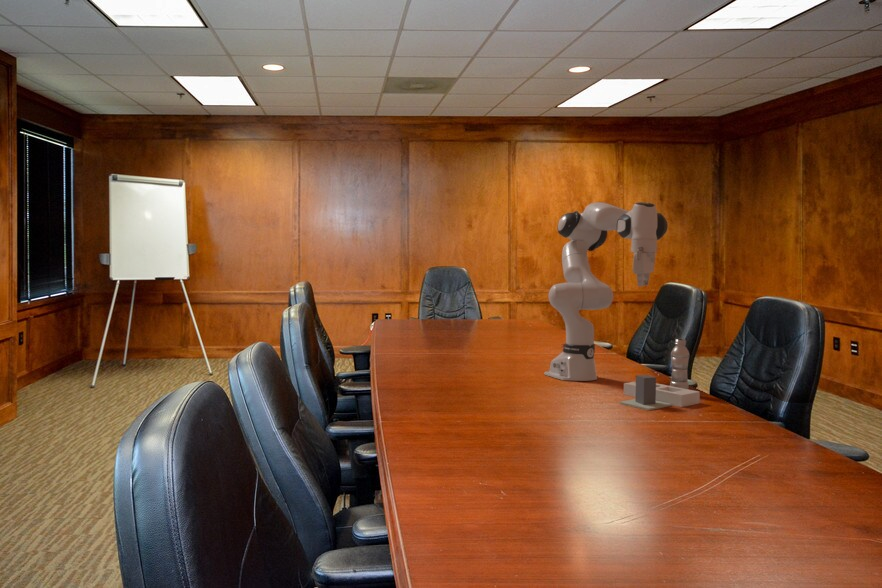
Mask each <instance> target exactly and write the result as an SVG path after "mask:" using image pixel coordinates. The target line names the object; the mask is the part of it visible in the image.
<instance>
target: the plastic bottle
mask: <svg viewBox="0 0 882 588" xmlns="http://www.w3.org/2000/svg"><path fill="white" fill-rule="evenodd" d="M674 339H675V340H674V345H675V346H673V348H672V350H671V352H670V359H671V377H670V378H671V379H670V383H669V386H673V387H678V388H683V389H688V390H690V387H689V379H688V378H689V377H688V367H689V360H690V351H689V350H688V348H687V347H686V345H687V341H686V338H685V339H684V338H674Z"/></svg>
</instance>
